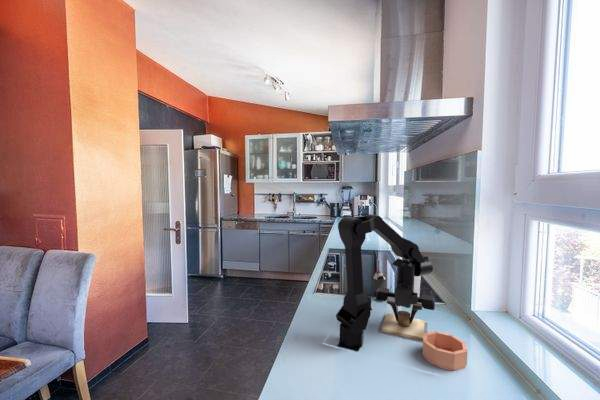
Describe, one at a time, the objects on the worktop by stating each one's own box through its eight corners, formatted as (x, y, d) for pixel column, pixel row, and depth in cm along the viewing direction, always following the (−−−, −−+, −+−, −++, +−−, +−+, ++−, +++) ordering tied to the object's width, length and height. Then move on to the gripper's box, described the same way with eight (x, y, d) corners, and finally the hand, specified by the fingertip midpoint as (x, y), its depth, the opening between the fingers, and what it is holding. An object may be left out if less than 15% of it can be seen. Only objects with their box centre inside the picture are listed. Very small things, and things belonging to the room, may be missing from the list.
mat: (377, 333, 94) (377, 332, 94) (384, 315, 107) (384, 314, 107) (426, 345, 88) (426, 343, 88) (427, 324, 101) (427, 322, 101)
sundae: (374, 296, 125) (375, 263, 125) (388, 300, 121) (390, 266, 120) (367, 301, 120) (368, 266, 119) (382, 305, 116) (383, 270, 115)
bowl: (422, 364, 78) (422, 346, 78) (423, 344, 88) (423, 328, 88) (467, 376, 73) (468, 357, 73) (463, 353, 83) (464, 337, 83)
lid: (381, 331, 94) (381, 316, 94) (387, 315, 106) (387, 302, 106) (423, 341, 89) (424, 325, 89) (424, 323, 101) (425, 309, 100)
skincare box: (398, 297, 125) (400, 264, 124) (412, 297, 125) (413, 264, 124) (405, 305, 117) (407, 270, 116) (420, 305, 117) (421, 270, 116)
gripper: (373, 280, 93) (372, 326, 94) (435, 290, 85) (433, 340, 86) (379, 271, 103) (377, 312, 104) (435, 279, 95) (433, 324, 96)
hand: (403, 322), depth 97 cm, fingers closed on lid, 4 cm apart
